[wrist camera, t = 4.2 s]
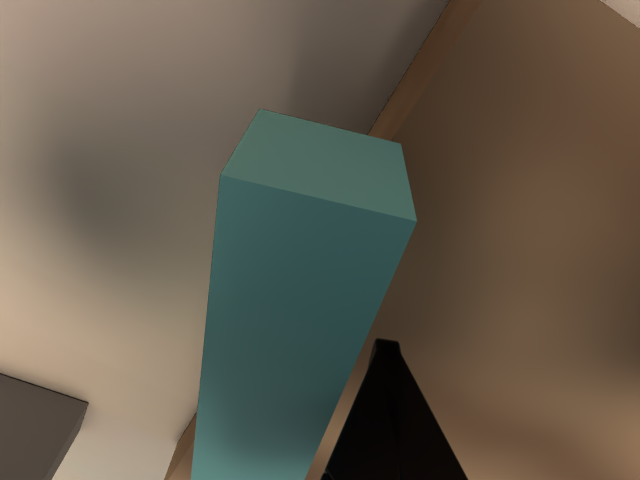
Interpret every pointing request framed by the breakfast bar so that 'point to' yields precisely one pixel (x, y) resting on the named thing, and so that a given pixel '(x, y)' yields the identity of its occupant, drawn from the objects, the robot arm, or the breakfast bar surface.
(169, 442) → the breakfast bar surface
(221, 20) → the breakfast bar surface
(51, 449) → the post
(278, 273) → the leg
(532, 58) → the board
